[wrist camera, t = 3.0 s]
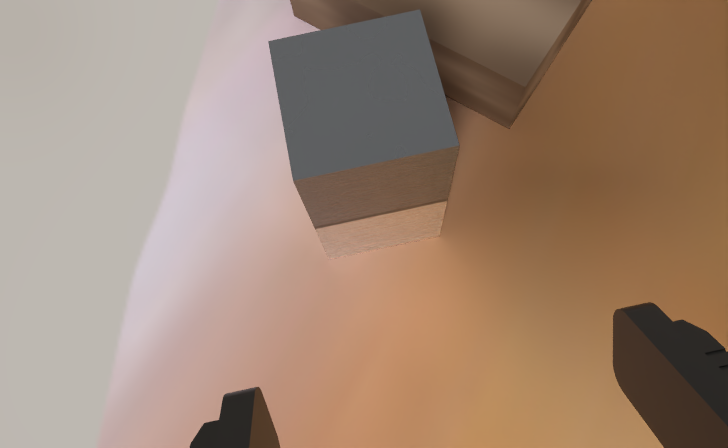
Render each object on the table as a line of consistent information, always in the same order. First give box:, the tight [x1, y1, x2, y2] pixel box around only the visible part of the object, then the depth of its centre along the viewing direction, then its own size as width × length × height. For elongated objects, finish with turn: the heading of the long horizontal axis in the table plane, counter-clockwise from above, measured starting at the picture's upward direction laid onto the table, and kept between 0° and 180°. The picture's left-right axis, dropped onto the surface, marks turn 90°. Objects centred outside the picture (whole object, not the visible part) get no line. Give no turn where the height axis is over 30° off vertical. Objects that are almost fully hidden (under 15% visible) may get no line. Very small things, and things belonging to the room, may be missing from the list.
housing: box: [268, 9, 460, 260], centre depth 24 cm, size 6×6×10 cm
